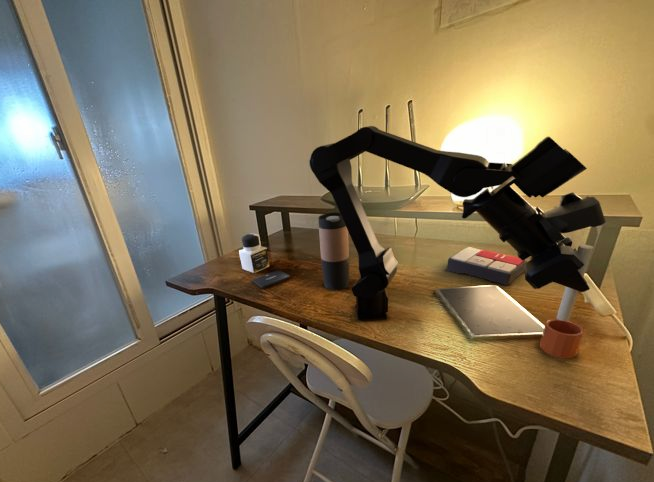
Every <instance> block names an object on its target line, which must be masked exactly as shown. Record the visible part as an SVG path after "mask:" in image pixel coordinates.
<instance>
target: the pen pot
mask: <svg viewBox="0 0 654 482" xmlns="http://www.w3.org/2000/svg"><path fill="white" fill-rule="evenodd" d="M544 326H545V327H544V331H543V334H542V337H540V340H539V347H540V349H541V350H542V351H544V352H545V353H546V354H548V355H550V356H553V357H555V358H560V359H561V358H562V359H572V358H575V357H576V356H577V354H578V352H579V349H580V346H581V344H582V340H583V338H584V335H585V333H586V331H585V329H584V327H582V326H581V325H579V324H578V323H576V322H573V321H570V320H569V321H561V320H559V319H557V318H553V319H549V320H547V321H546V322H545V324H544Z"/></svg>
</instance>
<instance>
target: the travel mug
mask: <svg viewBox="0 0 654 482" xmlns="http://www.w3.org/2000/svg"><path fill="white" fill-rule="evenodd" d="M317 220H318V234H319V248H320V263H321V269H322V280H323V285H324V287H325V288H326V289H327V290H331V291H340V290H344V289H347V288H348V287H349V285H350V246H349V232H348V230H347V228H346V225H345V223H344V221H343V219H342V216H341V214H340V212H339V211H338V212H328V213H323V214H321V215H319V216H318V219H317Z"/></svg>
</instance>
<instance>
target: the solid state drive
mask: <svg viewBox="0 0 654 482" xmlns="http://www.w3.org/2000/svg"><path fill="white" fill-rule="evenodd" d="M290 278H291V276H290V275H289V274H288V273H285V272H283V271H282V270H280V269H277V270H274V271H272V272H268V273H265V274H263V275H261V276H259V277H256V278H255V277H254V278H253V279H252V282H253V283H254V284H256V285H257V286H258V287H260V288H261V289H265V288H268V287H270V286H273V285H276V284H278V283H281V282H283V281H286V280H289V279H290Z"/></svg>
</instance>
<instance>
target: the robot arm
mask: <svg viewBox="0 0 654 482" xmlns="http://www.w3.org/2000/svg"><path fill="white" fill-rule="evenodd" d="M365 152H366V153H369V154H372V155H374V156H377V157H379V158H382V159H385V160H387V161H390V162H393V163H394V164H398V165H399V166H402V167H405V168H408V169H410V170H414V171H416V172H418V173H421V174H423V175H425V176H426V177H428V178H429V179H431V180H432V181H433V182H434V183H436V184H437V186H439V187H441V188H442V189H444V190H446V191H447V192H449V193H451V194H452V195H454V196H455V197H456V196H457V197H459V198H464V199H463V201H462V214H461V219H464V220H465V219H467V218H469V217H470V216H471V215H472V214H474V213H475V212H476V213H477V214H478V215H479V216H480V217H481V218H482V219H483V220H484V221H485V222H486V223H487V224H488V225H489V226H490V227H491V228H492V229H493V230H494V231H496V233H497V234H498V238H499V240H500V241H502V242H503V243H505V242H507V243H508V244H509V245H510V247H512V248H513V249H514V250H515V251H516V252H517V257H519V258H520V259H521V260H522V261H523V260H527V259H528V258H529V260H527V262H526V263H525V267H524V272H523V276H524V280H525V281H526V282H527V283H528V284H529V285H530V286H531V287H532V288H533V289H534V290H539V289H541V288H543V287H545V286H547V285H549V284H552V283H554V284H558V285H561V286H563V287H565V288H566V287H569V288H571V289H574V290H577V291H579V292H580V293H584V292H587V291H589V290H590V289H591V288H590V286H589V285H588V282H587V281H586V279H585V276H584V277H582V275H581V274H580V272H579V271H578V270H579V269H581V268H582V267H583V266H584V263H583V261H582V259H581V257H580V256H579V253H578V251H577V250H578V249H577V248H576V247H575V248H572V246H573V240H572V238H571V236H566V237H565V234H568V233H572V232H576V231H579V230H584V229H588V228H596V227H599V226H602V225H605V223H606V222H607V221H606V218H605V215H604V212H603V209H602V206H601V202H600V201H599V200H598V199H597V198H596V197H595V196H589V195H586V196H584V198H583V197H581V196H579V195H578V194H576V193H575V192H574V191H572V192H569V193H566V194H563V195H561V196H560V199H559V202H558V204H557V205H555V206H553V208H550V209H548V210H545V211H544V210H542V209H541V207H539V206H535V205H531V204H530V202H528V201H527V200H526V199H525V198H524V197H523V196H522V194H521V195H520V193H519V192H517V190H515V189H514V188H513V187H512V186H513V184H514V185H515V186H516V187H517V188H518V190H520V191H521V192H522V193H523V194H524V195H525V196H526V197H528V198H530V199H531V198H533V197H534V198H536V199H537V198H538V197H541V198H545V197H547V196H548V195H549V194H551V193H552V192H554V191H556V190H557V189H559V188H560V187H562V186H563V185H565V184H566V183H568V182H569V181H572V179H574V178H576V177H577V176H578V175H579V174H581V173H583V172H585V171H587V169H588V168H587V167H586V166H585V165H584V164H583V163H582V162H581V161H580V160H579V159H578V158H576V157H575V155H573V154H572V153H571V152H570V151H569V150H567V149H566V148H563V147H561V145H559V144H558V142H556V141H555V140H554V139H553V138H552V137H550V136H546V137H544V138H543V139H541V140H540V141H539V142H538V143H537V144H536V145H535V146H534V147H533V148H532V149H531V150H530V151H528V152H527V153H526V154H524V155H523V156H522V157H521V158H520V159H518V160H517V161H516V162H514V163H505V162H490V161H489V160H487V159H486V158H485V157H483V156H482V155H477V154H472V153H465V152H459V151H445V150H439V149H436V148H433V147H430V146H428V145H427V146H426V145H424V144H421V143H418V142H416V141H413V140H410V139H407V138H404V137H401V136H399V135H396V134H393V133H390V132H387V131H384V130H381V129H380V128H378V127H377V126H375V125H368V126H364V127H360V128H359V129H357V130H356V131H354V132H353V133H351V134H350V135H348V136H346V137H344V138H342V139H340V140H338V141H336V142H333V143H328V144H324V145H320V146H318V147H316V148H315V149H313V151H312V152H311V154H310V158H309V160H308V165H309V168H310V170H311V172H312V173H313V175H314V177H315V178H316V179H317V181H318V182H319V183H320V185H322V186H323V188H324V189H326V190H327V191H328V192H329V193H330V195H331V197H332V198H333V200H334V201H333V202H334V203H335V205H336V208H337V210H338V212H339V213H340V214H341V216H342V219H343V221H344V223H345V225H346V228H347V230H348V235H349V236H350V239H351V241H352V243H353V245H354V248H355V250H356V253H357V256H358V258H357V261H358V262H357V263H358V271H359V275H360V277H359V278H358V280H356V282H355V283H354V284H353V285H352V286H351V288H350V289H351V292H352V294H353V297H355V305H354V308H355V313H356V317H357V320H358V321H374V320H375V321H376V320H387V319H388V315H387V313H388V312H389V295H388V294H387V291H386V288H387V287H388V286H389V285H390V283H391V281H392V280H393V279H394V277H395V276H396V274H397V271H398V267H397V265H398V264H399V261H397V259H396V258H395V256H394V253H393V249H392V247H391V246H390V247H387V248H384V246H382V245H381V244H380V243H379V242H378V239H377V237H376V235H375V232H374V230H373V227H372V225H371V223H370V220H369V218H368V216H367V213H366V212H365V209H364V207H363V204H362V201H361V200H360V197H359V196H358V192H357V191H356V188H355V186H354V184H353V174H352V173H353V172H352V167H353V166H352V163H351V160H353V159H354V158H356V157H359V156H360V155H362V154H364V153H365ZM493 187H495V188H494V189H492V188H493ZM482 190H483V191H482ZM478 193H479V194H478ZM477 194H478V195H477ZM474 195H476V196H475V197H474V198H471V199H467V198H469V197H472V196H474Z"/></svg>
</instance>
